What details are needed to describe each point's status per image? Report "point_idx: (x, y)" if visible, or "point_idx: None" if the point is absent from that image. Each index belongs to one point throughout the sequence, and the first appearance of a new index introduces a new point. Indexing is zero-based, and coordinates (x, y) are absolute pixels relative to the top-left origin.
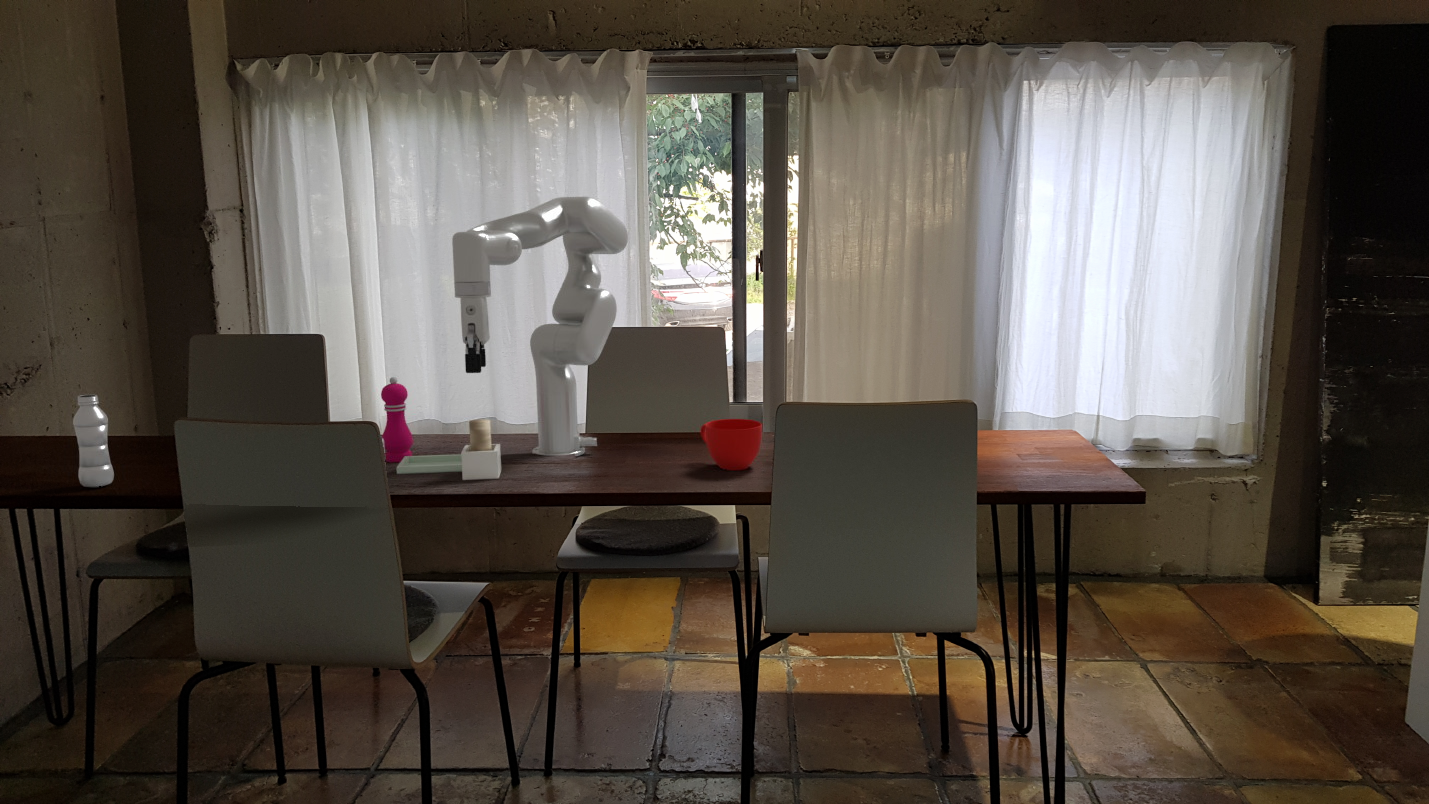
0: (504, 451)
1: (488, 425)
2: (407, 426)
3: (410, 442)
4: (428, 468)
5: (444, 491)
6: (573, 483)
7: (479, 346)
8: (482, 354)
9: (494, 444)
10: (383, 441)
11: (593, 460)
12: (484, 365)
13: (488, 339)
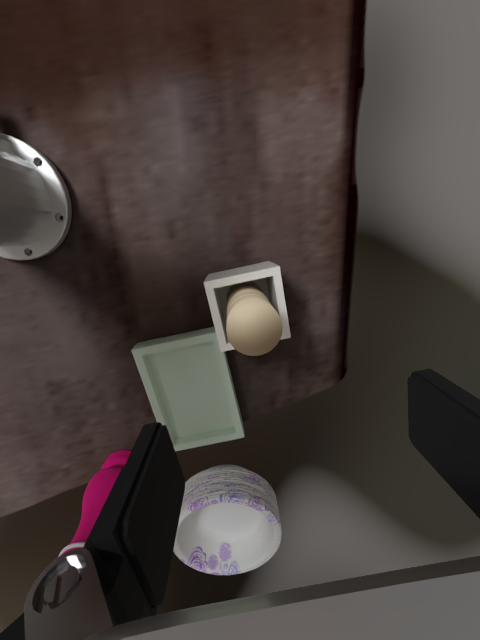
0: (24, 323)
1: (262, 301)
2: (93, 503)
3: (116, 471)
4: (234, 393)
5: (322, 332)
6: (271, 101)
7: (118, 598)
8: (146, 498)
9: (210, 293)
10: (211, 495)
11: (58, 96)
12: (163, 428)
13: (294, 625)
